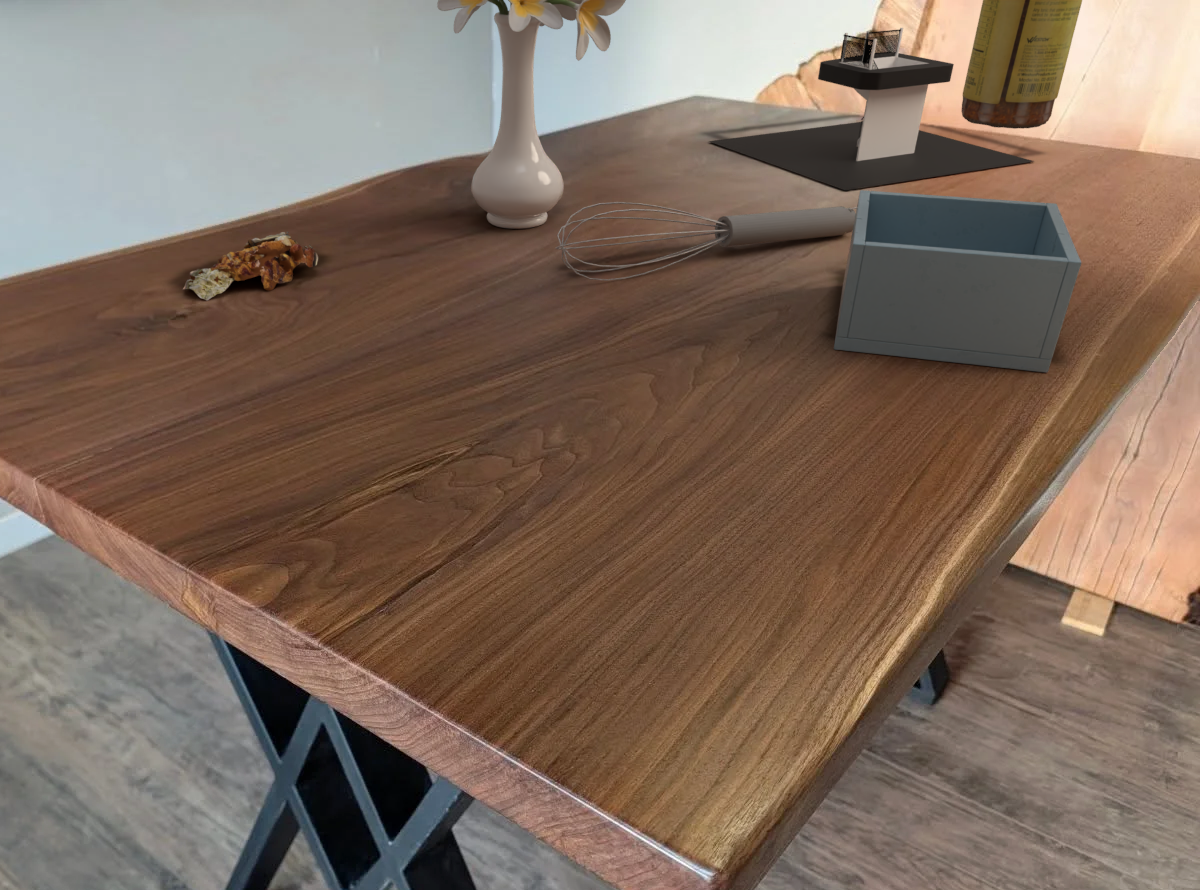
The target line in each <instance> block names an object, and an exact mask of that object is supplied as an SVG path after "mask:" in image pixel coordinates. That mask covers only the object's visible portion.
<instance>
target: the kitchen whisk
mask: <svg viewBox="0 0 1200 890" xmlns="http://www.w3.org/2000/svg"><path fill="white" fill-rule="evenodd" d="M617 204H619V205H636V206H637V205H638V206H643V207H644V206H645V207H652V208H658V209H646V208H645V209H643V208H641V209H640V208H631V209H618V210H617V209H615V210H611V211H606V212H603V213H597V214H595V215H593V216H591V217H588V218H583V219H578V220H573V221H571V219H572V218H573V217H574V216H576V215H577V214H579V213H581V212H582V211H583V210H586V209H587V210H588V209H590V208H593V207H597V206H604V205H605V206H606V205H617ZM660 209H662V210H660ZM663 209H664V210H663ZM855 210H857V206H855V207H845V206H842V205H841V206H830V207H818V208H807V209H793V210H781V211H772V212H771V211H770V212H758V213H757V212H756V213H749V214H747V213H745V214H734V215H722V216H720V217H719V218H718V219H717V220H716V219H713V218H709V217H706V216H703V215H699V214H696V213H692V212H688V211H683V210H680V209H676V208H671V207H666V206H660V205H655V204H648V203H642V202H641V203H639V202H628V201H627V202H626V201H625V202H624V201H613V202H600V203H596V204H591V205H587V206H584V207H582V208H580V209H578V210H577V211H576V212H574V213H573V214H571V215H570V216H569V218H568V220H567V221H566V223H565V225H562V226H561V227H560V229H559V231H558V233H557V234H556V235H557V239H558V242H559V245H558V246H556V247H554V248H555V250H561V258H560V259H561V261H562V262H563V264H564V265H565V267H566V268H567V269H570V270H572V271H573V272H574V273H575V274H576V275H578V276H580V277H583V278H586V279H588V280H591V281H601V282H602V281H604V282H609V281H611V282H612V281H619V280H627V279H632V278H635V277H640V276H645V275H647V274H649V273H653V272H656V271H659V270H662V269H665V268H667V267H669V266H673V265H675V264H678V263H680V262H682V261H684V260H687V259H690V258H691V257H694V256H696V255H698V254H700V253H703V252H705V251H707V250H708V249H711V248H712V247H715V245H719V246H721V247H733V246H735V247H736V246H744V245H745V246H746V245H754V244H755V245H756V244H763V243H764V244H765V243H775V242H784V241H785V242H787V241H794V240H804V239H815V238H825V237H826V238H827V237H836V236H843V235H845V234H847V233H852V232H853V226H854V221H855V215H856V211H855ZM621 212H622V213H623V212H657V213H665V214H671V215H673V214H674V215H678V216H679V215H680V216H685V217H690V218H693V219H694V218H695V219H699V220H703V221H707V222H712V223H715V224H710V223H701V222H693V221H685V220H675V219H664V218H652V217H635V216H634V217H633V216H604V215H609V214H614V213H621ZM600 216H602V217H600ZM605 219H607V220H611V219H612V220H615V219H618V220H620V219H621V220H623V219H627V220H648V221H660V222H672V223H681V224H690V225H699V226H705V227H706V226H707V227H714V229H713V230H711V229H709V230H693V231H692V230H691V231H678V232H673V231H672V232H660V233H648V234H647V233H646V234H636V235H635V234H634V235H624V236H622V235H621V236H614V237H605V238H596V239H588V240H582V241H575V242H569V243H567V242H568V240H569V238H570V236H571V234H572V233H573V232H574V231H575V230H576V229H578V228H579V227H580V226H581V225H582V224H583V223H586V222H587V221H594V220H605ZM575 223H578V224H577V225H576V226H575V227H574V228H572V229H571V230H570V231H569V233H568V235H567V237H566V238H565V229H566V227H568V226H570V225H572V224H575ZM561 232H562V237H561V238H560V234H561ZM682 234H687V235H682ZM666 235H680V236H671V237H662V238H654V239H646V240H644V239H643V240H637V241H627V242H626V241H625V242H617V243H615V242H614V243H607V244H605V243H604V244H598V245H585V246H573V247H568V246H572V245H578V244H584V243H592V242H599V241H608V240H618V239H629V238H630V239H631V238H639V237H652V236H666ZM708 235H714V239H711V240H708V241H706V242H703V243H700V244H697V245H695V246H692V247H688V248H686V249H682V250H680V251H677V252H674V253H670V254H667V255H663V256H660V257H657V258H654V259H650V260H647V261H642V262H638V263H631V264H630V263H629V264H621V265H608V264H607V265H606V264H603V265H602V264H596V263H592V262H586V261H584V260H582V259H579V258H578V257H576V256H574V255H572V254H571V253H570V251H568V250H576V249H577V250H578V249H588V248H589V249H590V248H599V247H609V246H618V245H629V244H630V245H631V244H637V243H638V244H639V243H647V242H657V241H665V240H673V239H674V240H675V239H682V238H692V237H700V236H708ZM702 248H703V249H702ZM700 249H701V250H700ZM697 250H699V251H697ZM694 251H697V252H694ZM690 252H694V253H692V254H690V255H688V256H686V257H684V258H681V259H679V260H676V261H673V262H671V263H669V264H666V265H663V266H660V267H658V268H654V269H651V270H649V271H645V272H641V273H638V274H634V275H629V276H625V277H615V278H608V279H607V278H595V277H589V276H587V275H585V274H582V273H603V272H611V271H616V270H622V269H627V268H631V267H636V266H641V265H645V264H651V263H656V262H660V261H664V260H668V259H672V258H675V257H679V256H682V255H685V254H688V253H690ZM567 255H568V256H569V257H570V258H572V259H574V260H576V261H577V262H580V263H582V264H585V265H590V266H593V267H594V266H595V267H600V268H607V269H599V270H598V269H597V270H582V269H577V268H574V267H573V266H572V265H571V264H570V262H569V261H568V258H567ZM609 268H610V269H609Z"/></svg>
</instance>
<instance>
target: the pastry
mask: <svg viewBox="0 0 1200 890" xmlns="http://www.w3.org/2000/svg"><path fill="white" fill-rule="evenodd" d="M318 262H319V256H318V253H317V252H316V251H315V250H314V247H313V246H312V245H311V244H308V245H306V246H305V245H304V250H303V247H302V246H301V244H299V243H298V242H297V240H293V239H292V236H290V234H289V231H286V232H285V231H282V232H279V233H276V234H270V235H267V236H265V237H262V238H258V237H253V238H252V239H248V240H247V242H246V243H245V244H244V245H243V249H242V250H236V251H229V252H228V253H227V254H223V255H222V256H221V257H220V258H218V259H217V263H215V264H214V265H213V266H212V267H210V268H197V269H196V270H192V271H190V272H189V277H190V279H187V280H186V282H185V284H184V287H183V288H182V290H191V291H193V292H194V293H195V294H196V295H197V297H199V298H200V299H203V300H205V301H209V300H210V299H212V298H214V297H215V296H216V295H219V294H223V293H224V292H226V290H227V289H228V288H229V287H230V286H231V284H232V283H233V282H234V281H237V282H239V281H245V280H249V279H252V278H255V277H260V276H261V280H260V281H261V283H262V285H263V289H264V290H265V291H267V292H268V291H269V292H271V291H272V290H274V288H275V287H276V285H277V284H278V285H279V284H285V283H288V282H292V280H293V278H294V276H293V275H294V273H293V271H294V269H295V268H296V267H297V266H298V265H300V264H301V263H302V264H304V263H305V265H306V266H307V267H308V268H314V267H316V266H317V265H318Z"/></svg>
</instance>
